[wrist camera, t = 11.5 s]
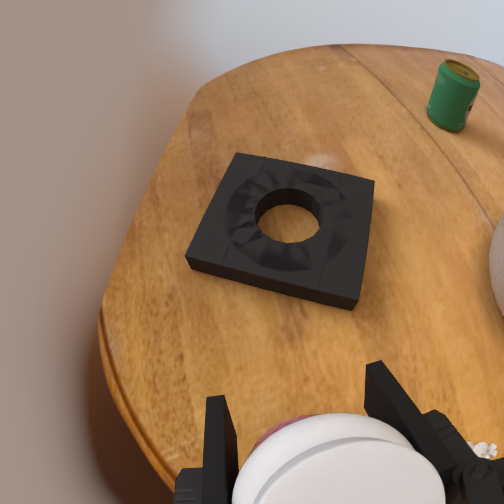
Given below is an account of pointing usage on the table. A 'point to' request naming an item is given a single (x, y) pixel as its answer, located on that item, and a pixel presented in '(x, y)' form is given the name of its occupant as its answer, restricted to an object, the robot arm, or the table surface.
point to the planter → (497, 264)
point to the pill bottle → (336, 465)
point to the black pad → (279, 253)
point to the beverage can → (453, 95)
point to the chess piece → (484, 449)
